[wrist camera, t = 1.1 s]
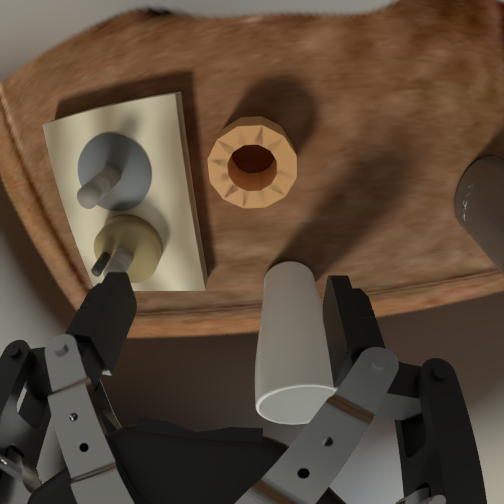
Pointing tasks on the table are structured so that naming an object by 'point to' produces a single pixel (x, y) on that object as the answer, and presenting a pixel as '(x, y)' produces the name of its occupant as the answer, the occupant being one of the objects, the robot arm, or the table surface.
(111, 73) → the table surface
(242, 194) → the gear
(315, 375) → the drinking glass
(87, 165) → the gear board
